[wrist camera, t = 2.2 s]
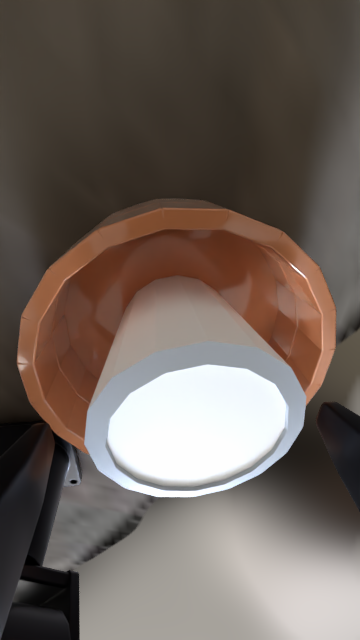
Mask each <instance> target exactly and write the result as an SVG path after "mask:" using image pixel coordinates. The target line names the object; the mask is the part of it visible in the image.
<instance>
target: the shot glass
mask: <svg viewBox="0 0 360 640" xmlns="http://www.w3.org/2000/svg"><path fill="white" fill-rule="evenodd" d="M305 405H306V395H305V393H304V391H303V389H302V387H301V385H300V383H299V381H298V379H297V378H296V376H295V374H294V372H293V370H292V368H291V367H290V366H289V365H288V364H287V363H286V362H285V361H284V360H283V359H282V358H281V357H280V356H279V355H278V354H277V353H276V352H275V351H274V350H273V349H272V348H271V347H270V346H269V345H268V344H267V342H266V341H265V340H264V339H263V338H262V337H261V336H260V335H259V334H258V333H257V332H256V331H255V330H254V329H253V328H252V327H251V326H250V325H249V324H248V323H247V322H246V321H245V320H244V319H243V318H242V317H241V316H240V315H239V314H238V313H237V312H236V311H235V310H234V309H233V308H232V307H231V306H230V305H229V304H228V303H227V302H226V301H225V299H224V298H223V297H222V296H221V295H220V294H219V293H218V292H217V291H216V290H214V289H213V288H211V287H210V286H208V285H207V284H205V283H204V282H202V281H201V280H199V279H195V278H190V277H184V276H179V275H176V276H171V277H166V278H161V279H156V280H154V281H153V282H151V283H149V284H148V285H146V286H145V287H143V288H142V289H140V290H139V291H137V292H136V294H135V295H134V297H133V298H132V300H131V301H130V303H129V304H128V306H127V307H126V309H125V312H124V314H123V317H122V320H121V322H120V325H119V328H118V330H117V333H116V336H115V338H114V341H113V344H112V346H111V349H110V352H109V354H108V357H107V360H106V362H105V365H104V368H103V370H102V373H101V376H100V378H99V381H98V384H97V386H96V389H95V392H94V395H93V397H92V400H91V403H90V405H89V408H88V411H87V419H86V429H85V440H84V445H85V447H86V448H87V450H88V452H89V454H90V456H91V458H92V459H93V461H94V463H95V465H96V467H97V469H98V470H99V471H100V472H102V473H103V474H105V475H106V476H108V477H109V478H110V479H112V480H113V481H115V482H116V483H118V484H119V485H121V486H122V487H124V488H126V489H130V490H134V491H138V492H141V493H145V494H149V495H153V496H157V497H195V496H199V495H204V494H208V493H213V492H217V491H222V490H227V489H230V488H232V487H234V486H236V485H238V484H240V483H243V482H244V481H247V480H249V479H251V478H253V477H255V476H258V475H260V474H261V473H263V472H264V471H265V470H266V469H267V468H269V467H270V466H271V465H272V464H273V463H275V462H276V461H277V460H278V459H280V458H281V457H282V456H283V455H285V454H286V453H287V451H288V450H289V448H290V447H291V445H292V443H293V442H294V440H295V439H296V437H297V435H298V434H299V432H300V431H301V429H302V428H303V425H304V415H305Z"/></svg>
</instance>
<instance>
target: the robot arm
mask: <svg viewBox="0 0 360 640" xmlns="http://www.w3.org/2000/svg"><path fill="white" fill-rule="evenodd" d="M316 424H317V427H318V429H319V432H320V434H321V436H322V438H323V441H324V443H325V445H326V447H327V450H328V452H329V454H330V456H331V459H332V461H333V463H334V465H335V467H336V469H337V471H338V473H339V475H340V477H341V479H342V481H343V482H344V484H345V486H346V488H347V490H348V491H349V493H350V495H351V497H352V498H353V500H354V502H355V504H356V506H357V507H358V509H359V511H360V416H358V415H357V414H355V413H353V412H352V411H350V410H349V409H347V408H345V407H344V406H342V405H340V404H339V403H337V402H324V403H323V404H322V405H321V407H320V410H319V412H318V415H317V417H316ZM81 479H82V474H81V470H80V466H79V462H78V458H77V454H76V450H75V446H73V445H72V444H70V443H69V442H67V441H66V440H64V439H62V438H61V437H59V436H58V435H56V433H54V432H53V431H52V429H51V427H50V425H49V424H48V423H46V422H45V421H38V422H24V423H10V424H0V640H79V574H78V572H74V571H70V570H69V571H67V572H64V571H60V570H55V569H51V568H46V567H42V565H43V561H44V557H45V554H46V550H47V546H48V542H49V539H50V535H51V531H52V527H53V523H54V520H55V516H56V512H57V508H58V505H59V501H60V497H61V493H62V490H63V487H67V486H76V485H79V484H80V483H81Z"/></svg>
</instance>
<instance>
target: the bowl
mask: <svg viewBox="0 0 360 640" xmlns="http://www.w3.org/2000/svg"><path fill="white" fill-rule="evenodd" d="M176 275H179V276H184V277H190V278H195V279H199V280H201V281H202V282H204V283H205V284H207V285H208V286H210V287H211V288H213V289H214V290H216V291H217V292H218V293H219V294H220V295H221V296H222V297H223V298H224V299H225V301H226V302H227V303H228V304H229V305H230V306H231V307H232V308H233V309H234V310H235V311H236V312H237V313H238V314H239V315H240V316H241V317H242V318H243V319H244V320H245V321H246V322H247V323H248V324H249V325H250V326H251V327H252V328H253V329H254V330H255V331H256V332H257V333H258V334H259V335H260V336H261V337H262V338H263V339H264V340H265V341H266V342H267V344H268V345H269V346H270V347H271V348H272V349H273V350H274V351H275V352H276V353H277V354H278V355H279V356H280V357H281V358H282V359H283V360H284V361H285V362H286V363H287V364H288V365H289V366H290V367H291V368H292V370H293V372H294V374H295V376H296V378H297V379H298V381H299V383H300V385H301V387H302V389H303V391H304V393H305V395H306V405H307V404H308V403H309V401H310V400H311V399H312V397H313V396H314V395H315V393H316V392H317V391H318V389H319V388H320V387H321V384H322V383H323V381H324V378H325V376H326V373H327V370H328V368H329V365H330V362H331V360H332V357H333V354H334V352H335V348H336V306H335V303H334V301H333V298H332V296H331V293H330V291H329V288H328V286H327V283H326V281H325V278H324V276H323V273H322V271H321V268H320V267H319V265H318V264H317V263H316V262H315V261H314V260H313V259H312V258H311V257H309V256H308V255H307V254H306V253H305V252H304V251H303V250H302V249H301V248H300V247H299V246H298V245H297V244H296V243H295V242H294V241H293V240H292V239H291V238H290V237H289V236H288V235H287V234H286V233H285V232H283V231H282V230H280V229H277V228H275V227H272V226H270V225H267V224H265V223H262V222H260V221H257V220H255V219H252V218H250V217H247V216H245V215H242V214H240V213H237V212H235V211H232V210H230V209H227V208H224V207H221V206H218V205H216V204H213V203H210V202H207V201H205V200H197V199H179V198H176V199H157V200H156V199H153V200H150V201H147V202H143V203H140V204H137V205H134V206H131V207H128V208H125V209H123V210H120V211H117V212H114V213H113V214H111V215H109V216H108V217H107V218H105V219H104V220H103V221H102V222H100V223H99V224H98V225H97V226H95V227H94V228H93V229H92V230H90V231H89V232H88V233H87V234H85V235H84V236H83V237H82V238H80V239H79V240H78V241H77V242H76V243H75V244H74V245H73V246H71V247H70V248H69V249H68V250H67V251H66V252H65V253H64V254H63V255H62V256H61V257H59V258H58V259H57V260H56V261H55V262H54V263H53V264H52V265H51V266H50V267H49V268H48V269H47V270H46V272H45V274H44V276H43V277H42V279H41V281H40V283H39V284H38V286H37V288H36V290H35V292H34V293H33V295H32V297H31V299H30V300H29V302H28V304H27V306H26V307H25V309H24V311H23V313H22V316H21V321H20V331H19V341H18V352H17V366H18V369H19V372H20V375H21V378H22V381H23V384H24V387H25V390H26V393H27V396H28V399H29V402H30V403H31V405H32V406H33V408H34V409H35V410H36V411H37V412H38V414H39V415H40V416H41V417H42V418H43V420H44V421H45V422H46V423H48V424H49V425H50V427H51V429H52V431H53V432H54V433H56V435H58V436H59V437H61V438H62V439H64V440H66V441H67V442H69V443H70V444H72V445H73V446H75V447H76V448H78V449H80V450H81V451H83V452H84V453H86V454H89V452H88V450H87V448H86V447H85V445H84V440H85V429H86V419H87V411H88V408H89V405H90V403H91V400H92V397H93V395H94V392H95V389H96V386H97V384H98V381H99V378H100V376H101V373H102V370H103V368H104V365H105V362H106V360H107V357H108V354H109V352H110V349H111V346H112V344H113V341H114V338H115V336H116V333H117V330H118V328H119V325H120V322H121V320H122V317H123V314H124V312H125V309H126V307H127V306H128V304H129V303H130V301H131V300H132V298H133V297H134V295H135V294H136V292H137V291H139V290H140V289H142V288H143V287H145V286H146V285H148V284H149V283H151V282H153V281H154V280H156V279H161V278H166V277H171V276H176ZM306 405H305V407H306ZM89 455H90V454H89Z"/></svg>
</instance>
